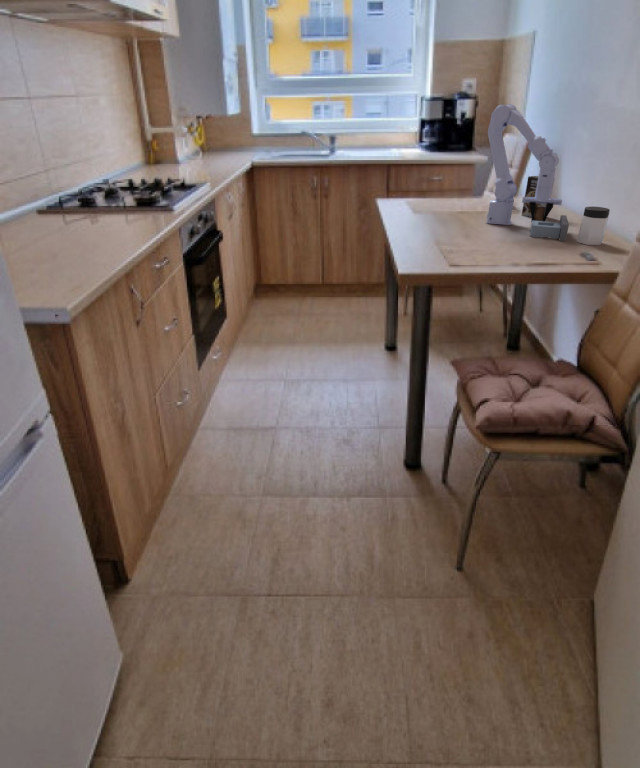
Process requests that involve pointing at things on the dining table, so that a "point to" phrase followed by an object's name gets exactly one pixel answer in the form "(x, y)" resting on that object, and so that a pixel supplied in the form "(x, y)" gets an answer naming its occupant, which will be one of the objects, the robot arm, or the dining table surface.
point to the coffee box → (531, 195)
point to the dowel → (539, 213)
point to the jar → (593, 225)
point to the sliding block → (545, 229)
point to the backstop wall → (563, 228)
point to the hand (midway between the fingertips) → (537, 222)
